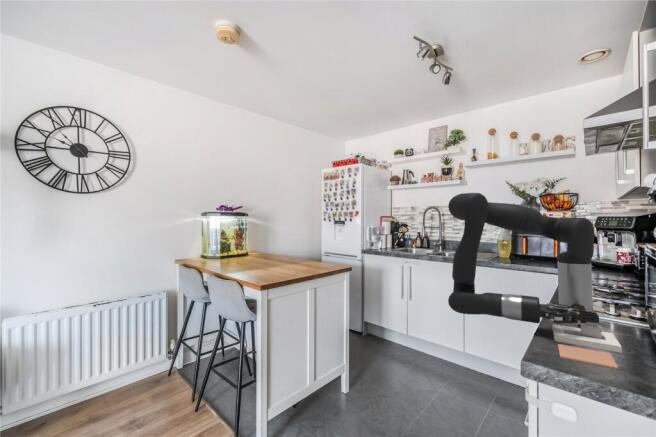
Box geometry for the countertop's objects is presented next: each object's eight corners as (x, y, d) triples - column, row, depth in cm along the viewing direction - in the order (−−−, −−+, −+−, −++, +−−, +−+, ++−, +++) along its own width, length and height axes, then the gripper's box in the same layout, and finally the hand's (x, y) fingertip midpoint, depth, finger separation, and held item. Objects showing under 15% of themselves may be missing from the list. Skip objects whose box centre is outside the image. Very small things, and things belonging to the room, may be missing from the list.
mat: (557, 345, 76) (557, 343, 76) (610, 355, 70) (610, 353, 70) (560, 357, 69) (560, 356, 69) (618, 369, 63) (618, 367, 63)
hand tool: (570, 314, 100) (569, 301, 100) (585, 316, 97) (585, 302, 97) (574, 332, 85) (573, 316, 85) (592, 335, 82) (592, 319, 82)
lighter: (601, 342, 77) (600, 312, 77) (601, 344, 75) (600, 313, 76) (567, 335, 82) (566, 307, 82) (566, 337, 80) (565, 308, 81)
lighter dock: (552, 329, 86) (552, 324, 86) (612, 338, 79) (612, 333, 79) (554, 341, 78) (554, 335, 78) (621, 352, 71) (621, 346, 71)
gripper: (518, 300, 81) (602, 310, 71) (520, 290, 92) (593, 297, 82) (519, 327, 81) (603, 340, 71) (521, 314, 92) (594, 324, 82)
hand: (597, 317), depth 77 cm, fingers closed on lighter, 1 cm apart
